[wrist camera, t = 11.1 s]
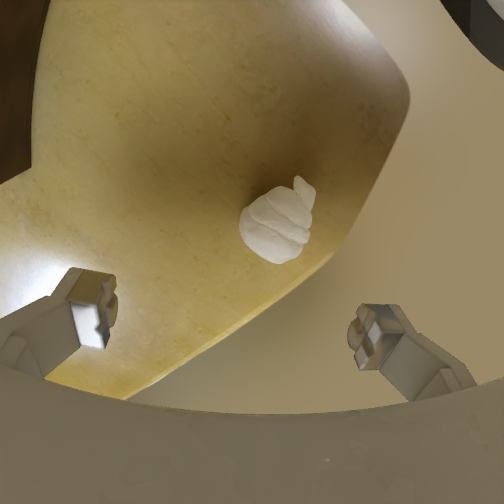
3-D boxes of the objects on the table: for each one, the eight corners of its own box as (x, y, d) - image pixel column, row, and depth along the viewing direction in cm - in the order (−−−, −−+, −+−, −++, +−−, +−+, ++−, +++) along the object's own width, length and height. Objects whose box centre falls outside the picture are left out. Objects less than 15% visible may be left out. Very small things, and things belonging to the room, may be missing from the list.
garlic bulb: (324, 190, 24) (348, 215, 20) (284, 244, 27) (297, 278, 22) (272, 155, 23) (284, 171, 18) (231, 214, 25) (233, 245, 20)
